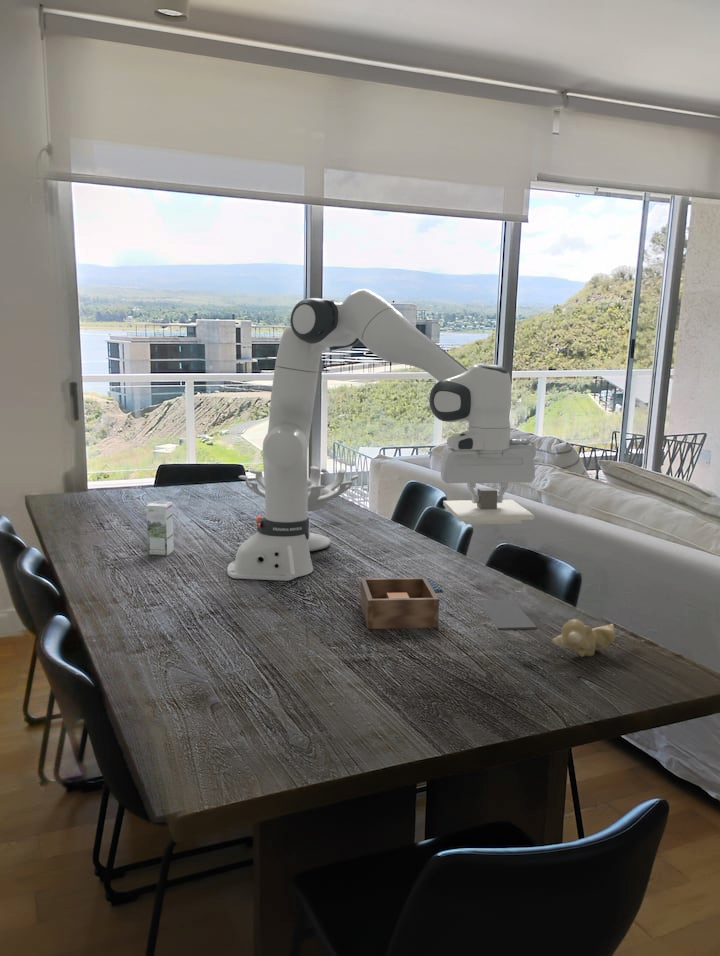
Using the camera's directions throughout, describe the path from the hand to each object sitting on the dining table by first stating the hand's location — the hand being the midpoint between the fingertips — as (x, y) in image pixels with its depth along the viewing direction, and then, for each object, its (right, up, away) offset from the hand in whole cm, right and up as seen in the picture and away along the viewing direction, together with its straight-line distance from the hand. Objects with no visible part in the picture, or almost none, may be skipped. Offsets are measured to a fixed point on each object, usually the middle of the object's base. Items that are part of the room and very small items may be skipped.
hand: (486, 502), depth 170 cm
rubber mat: (0, -25, +5) cm, 26 cm away
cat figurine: (+16, -30, -16) cm, 37 cm away
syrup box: (-84, -16, +49) cm, 99 cm away
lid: (0, -3, 0) cm, 3 cm away
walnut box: (-19, -26, +1) cm, 32 cm away
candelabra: (-46, -15, +60) cm, 77 cm away
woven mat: (-13, -23, +21) cm, 34 cm away
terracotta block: (-19, -25, +1) cm, 32 cm away
